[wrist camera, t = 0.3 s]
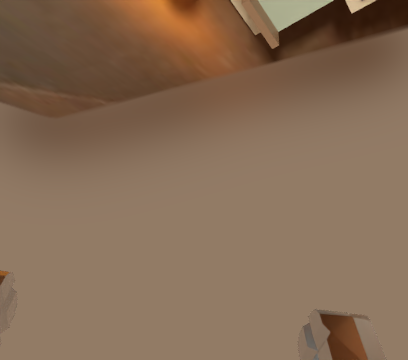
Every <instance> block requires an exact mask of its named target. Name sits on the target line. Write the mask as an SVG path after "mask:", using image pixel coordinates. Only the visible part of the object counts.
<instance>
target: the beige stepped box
mask: <svg viewBox="0 0 408 360" xmlns="http://www.w3.org/2000/svg"><path fill="white" fill-rule="evenodd" d="M241 1H242V0H231V2H232V3H233V5H234V6H235V7H236V9H237V10H238V12H239V13H240V15H241V16H242V17H243V19H244V20H245V22H246V23H247V24H248V26H249V27H250V29H251V30H252V32H253V33H254V34H255V35H257V34H258V33H260V30H259V29H258V28H257V26H256V25H255V23H254V22H253V20H252V19H251V17H250V16H249V14H248V13H247V12H246V10H245V9H244V7H243V6H242V4H241ZM345 1H346V3H347V5H348V7H349V9H350V11H351V13H354V12H356V11H357V10H359V9H361V8H363V7H365V6H367V5H369V4H370V3H372V2H374V1H376V0H345Z"/></svg>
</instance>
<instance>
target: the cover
mask: <svg viewBox="0 0 408 360" xmlns="http://www.w3.org/2000/svg"><path fill="white" fill-rule="evenodd" d="M332 1H333V0H242V1H241V4H242V6H243V7H244V9H245V10H246V12H247V13H248V14H249V16H250V17H251V19H252V20H253V22H254V23H255V25H256V26H257V28H258V29H259V30H260V32H261V33H262V35H263V36H264V38H265V39H266V41H267V42H268V44H269V45H270V46H271V48H272V49H273V48H275V47H277V46H279V34H278V32H279V31H281V30H283V29H284V28H286V27H288V26H290V25H291V24H293V23H295V22H297V21H298V20H300V19H302V18H304V17H305V16H307V15H309V14H311V13H312V12H314V11H316V10H318V9H319V8H321V7H323V6H325V5H326V4H328V3H330V2H332Z"/></svg>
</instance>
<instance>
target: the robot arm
mask: <svg viewBox="0 0 408 360" xmlns="http://www.w3.org/2000/svg"><path fill="white" fill-rule="evenodd" d="M14 281H15V280H14V274H13V273H12V272H6V271H0V334H1V333H2V332H3V331H5V330H6V329H7V328H9V326H10V323H11V321H12V319H13V317H14V313H15V310H16V306H17V292H16V291H15V290H14V289H13V288H12V285H13V283H14ZM308 317H309V322H310V323H308V324H306V325H304V326H303V327H302V329H301V331H300V333H299V339H298V351H299V356H300V360H386V357H385V355H384V352H383V350H382V347H381V345H380V343H379V340H378V338H377V335H376V333H375V330H374V328H373V325H372V323H371V321H370V319H369V318H368V317H367V316H365V315H358V314H348V313H345V312H336V311H327V310H317V309H315V310H313V311H312V312H311V313H310V315H309V316H308ZM0 345H1V340H0Z"/></svg>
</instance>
